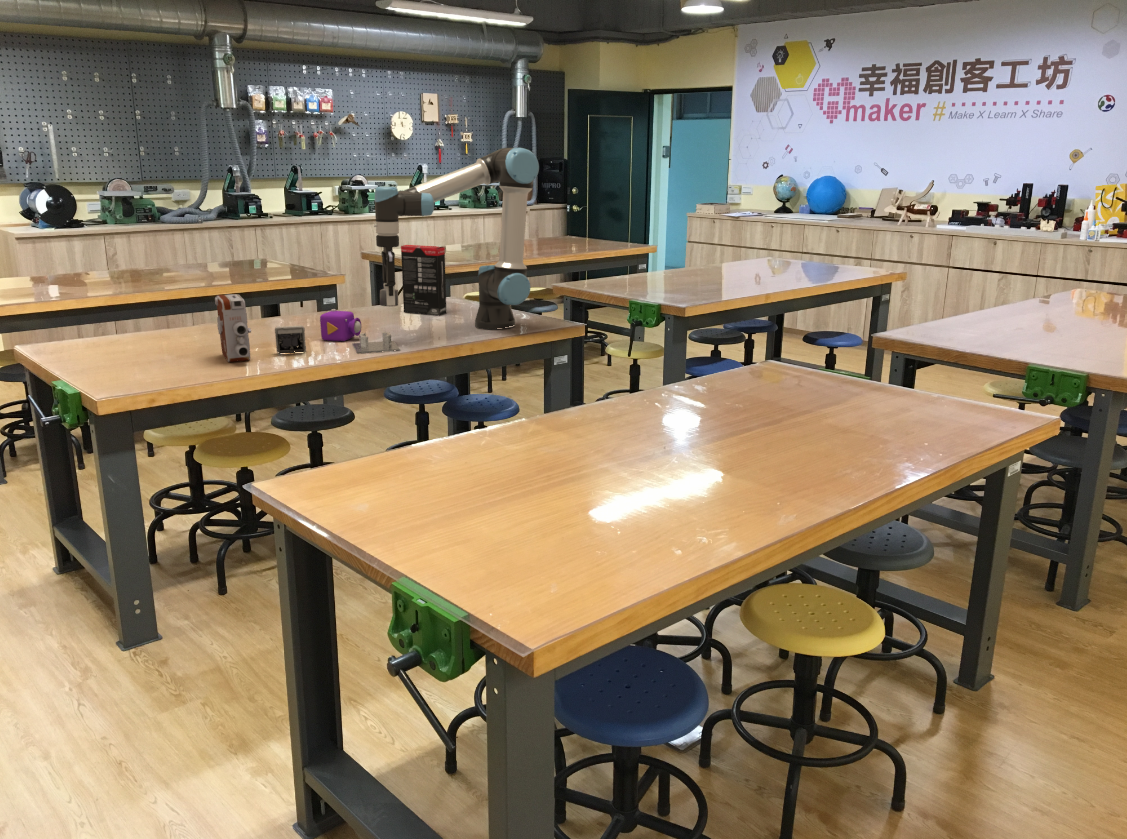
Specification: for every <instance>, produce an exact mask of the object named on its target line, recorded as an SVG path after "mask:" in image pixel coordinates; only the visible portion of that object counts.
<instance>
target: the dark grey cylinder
mask: <svg viewBox="0 0 1127 839" xmlns="http://www.w3.org/2000/svg"><path fill="white" fill-rule="evenodd" d="M379 306H382V307H388V306H387V295H386V289H384V288H382V289H379ZM397 306H399V290H398V289H397V288H395V306H394V307H397Z"/></svg>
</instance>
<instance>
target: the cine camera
mask: <svg viewBox="0 0 1127 839" xmlns="http://www.w3.org/2000/svg"><path fill="white" fill-rule="evenodd" d="M214 303H215V305H216V310H217V318H216V320H217V323H216V324H217V332H218V335H219V337H220V347H221V352H222V356H223V357H224V358H225V359H226V361H227V362H228V363H234V362H235V363H236V362H245V361H250V360H251V347H250V346H251V345H250V337H249V333H250V334H251V333H252V329H251V327H248V316H247V315H248V312H247V307H246V301H245V299H244V298H243V297H242V296H241V295H240V294H236V293H235V294H233V293H232V294H218V295H216V296H215V297H214Z"/></svg>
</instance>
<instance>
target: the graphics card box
mask: <svg viewBox="0 0 1127 839" xmlns="http://www.w3.org/2000/svg"><path fill="white" fill-rule="evenodd" d="M445 249H446V248H445V246H435V245H420V244H418V245H417V244H403V245H400V252H401V254H400V255H401V274H402V275H401V276H402V277H401V278H402V296H403V297H402V299H403V301H402V302H403V312H404V313H408V314H409V313H410V314H418V313H421V315H427V314H431V315H430V316H438V315H439V316H442V315H445V314H447V285H446V283H447V282H446V251H445Z"/></svg>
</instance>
